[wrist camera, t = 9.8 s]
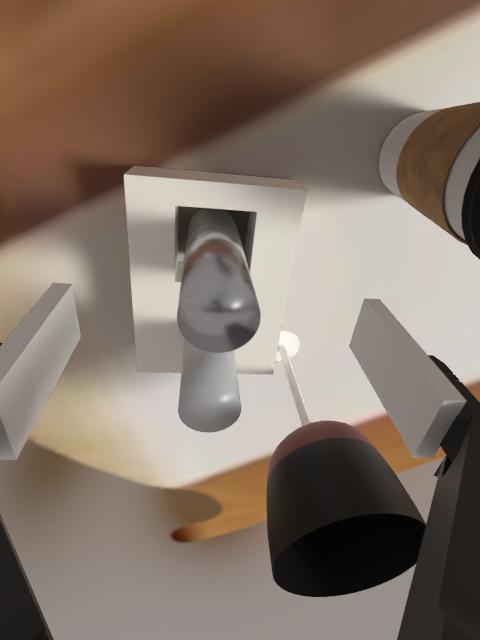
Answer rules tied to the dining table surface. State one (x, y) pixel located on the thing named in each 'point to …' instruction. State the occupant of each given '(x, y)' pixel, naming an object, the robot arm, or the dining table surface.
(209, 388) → the socket block
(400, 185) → the coffee cup
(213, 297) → the pipe
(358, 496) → the wineglass
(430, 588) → the robot arm
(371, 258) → the dining table surface
